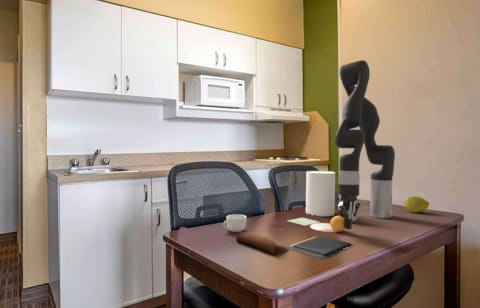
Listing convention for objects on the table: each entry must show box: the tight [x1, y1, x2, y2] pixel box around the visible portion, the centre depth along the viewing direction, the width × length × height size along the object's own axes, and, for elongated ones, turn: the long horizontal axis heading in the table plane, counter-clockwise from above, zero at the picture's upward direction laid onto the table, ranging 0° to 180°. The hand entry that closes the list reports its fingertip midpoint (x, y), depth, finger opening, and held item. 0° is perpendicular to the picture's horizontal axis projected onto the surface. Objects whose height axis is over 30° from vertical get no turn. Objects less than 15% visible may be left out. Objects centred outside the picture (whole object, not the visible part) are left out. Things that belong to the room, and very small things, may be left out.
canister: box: [305, 170, 336, 217], centre depth 158 cm, size 14×14×20 cm
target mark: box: [309, 222, 339, 233], centre depth 131 cm, size 13×13×1 cm
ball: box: [329, 215, 345, 233], centre depth 126 cm, size 6×6×6 cm
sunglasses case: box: [235, 231, 290, 256], centre depth 107 cm, size 18×7×7 cm
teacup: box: [222, 214, 247, 233], centre depth 125 cm, size 10×8×5 cm
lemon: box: [404, 195, 430, 214], centre depth 162 cm, size 11×8×8 cm
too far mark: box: [287, 217, 321, 227], centre depth 141 cm, size 10×10×1 cm
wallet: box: [286, 235, 354, 260], centre depth 107 cm, size 20×2×15 cm
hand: (347, 228), depth 123 cm, fingers closed
